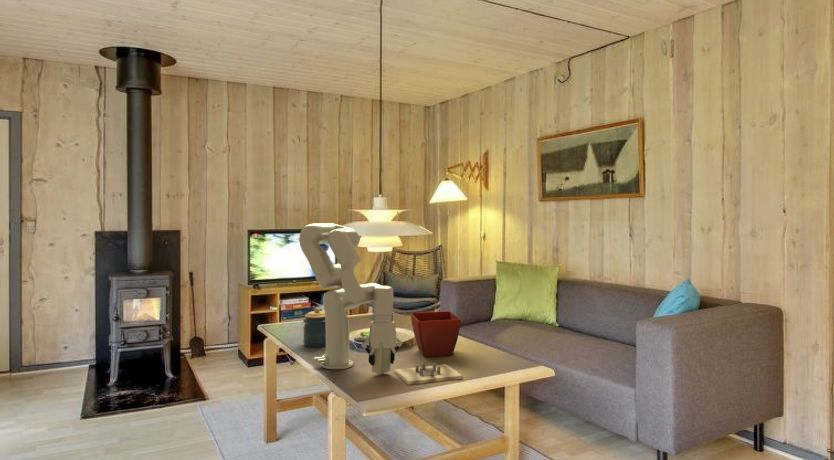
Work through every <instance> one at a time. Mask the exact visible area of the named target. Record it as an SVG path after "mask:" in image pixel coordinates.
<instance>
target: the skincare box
mask: <svg viewBox="0 0 834 460" xmlns="http://www.w3.org/2000/svg"><path fill="white" fill-rule="evenodd" d="M373 355H374V365H371V366H372V367H371V372H372V373H375V374H377V375H383V374H386V373H388V372H391V366H392V365H391V348H388V349H384V348H383V343H379V349H375V351H374V352H373Z"/></svg>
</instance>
